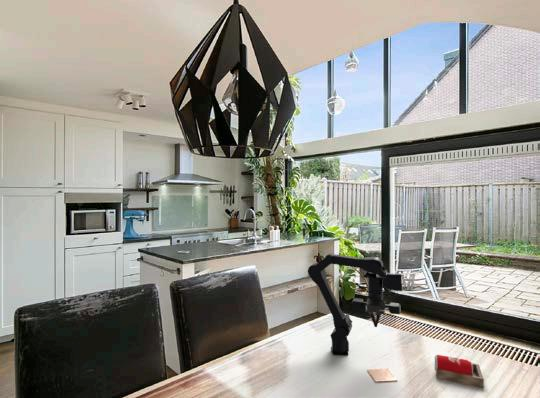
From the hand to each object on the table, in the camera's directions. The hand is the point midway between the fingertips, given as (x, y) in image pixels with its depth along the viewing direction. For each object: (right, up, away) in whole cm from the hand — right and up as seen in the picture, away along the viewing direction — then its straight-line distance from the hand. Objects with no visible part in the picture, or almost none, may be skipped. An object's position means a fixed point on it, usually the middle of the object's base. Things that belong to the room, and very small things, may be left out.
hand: (375, 326), depth 133 cm
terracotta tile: (-2, -14, -13) cm, 19 cm away
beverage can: (+19, -10, -11) cm, 23 cm away
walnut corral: (+26, -13, -13) cm, 32 cm away
